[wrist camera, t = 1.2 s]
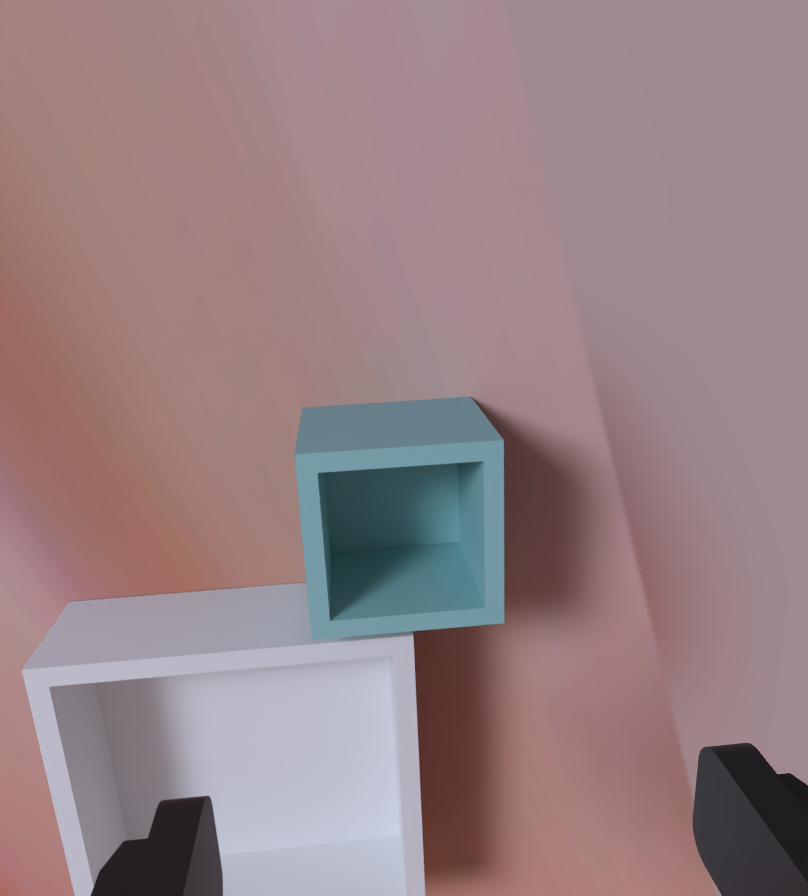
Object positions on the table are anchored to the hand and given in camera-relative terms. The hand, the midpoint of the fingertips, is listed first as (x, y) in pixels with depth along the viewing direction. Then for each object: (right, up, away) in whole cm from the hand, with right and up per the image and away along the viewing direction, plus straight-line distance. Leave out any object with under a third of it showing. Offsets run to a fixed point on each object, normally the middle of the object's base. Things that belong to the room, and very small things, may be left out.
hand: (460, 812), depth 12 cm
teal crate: (-1, +5, +15) cm, 16 cm away
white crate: (-7, -5, +17) cm, 20 cm away
